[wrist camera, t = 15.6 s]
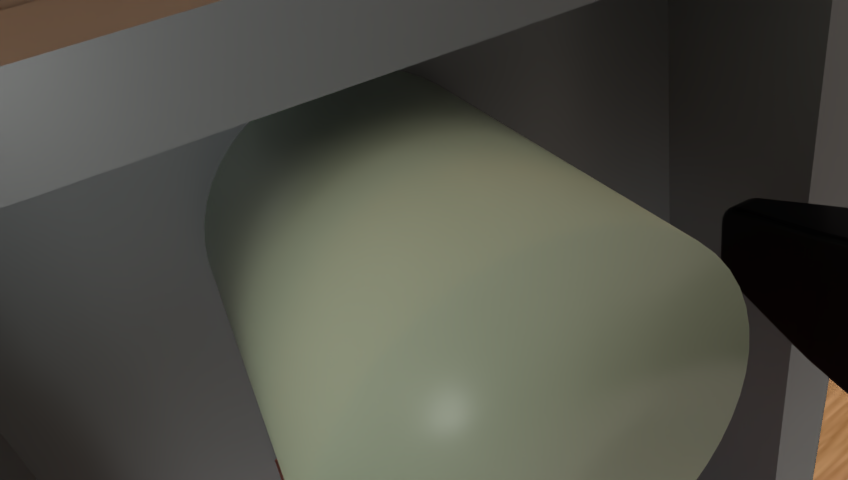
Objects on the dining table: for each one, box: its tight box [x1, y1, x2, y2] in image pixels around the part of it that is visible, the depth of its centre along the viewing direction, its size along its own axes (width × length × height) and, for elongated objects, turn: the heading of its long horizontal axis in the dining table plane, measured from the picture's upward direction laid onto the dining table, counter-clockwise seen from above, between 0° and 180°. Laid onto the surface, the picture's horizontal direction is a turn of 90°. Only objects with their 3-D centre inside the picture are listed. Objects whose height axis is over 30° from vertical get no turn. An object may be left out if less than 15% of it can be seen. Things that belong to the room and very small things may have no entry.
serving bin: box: [0, 0, 848, 480], centre depth 11 cm, size 14×13×4 cm
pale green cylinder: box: [204, 70, 749, 480], centre depth 8 cm, size 4×4×5 cm
